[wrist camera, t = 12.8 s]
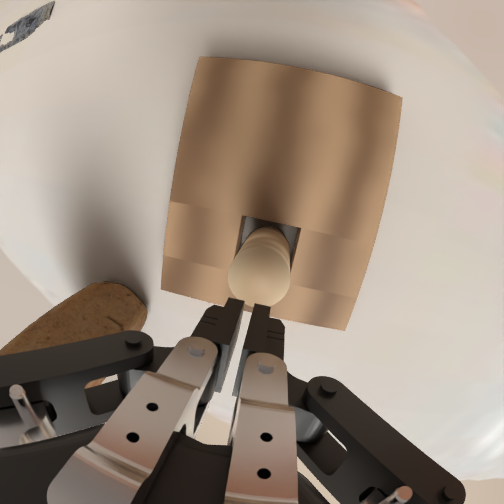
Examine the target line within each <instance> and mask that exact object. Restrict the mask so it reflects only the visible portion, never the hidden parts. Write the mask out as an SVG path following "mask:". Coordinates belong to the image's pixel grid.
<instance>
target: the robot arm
mask: <svg viewBox="0 0 504 504" xmlns="http://www.w3.org/2000/svg"><path fill="white" fill-rule="evenodd" d="M244 304H245V301H243V300H239V299H235V298H231V297H229V298H228V300H227V302H226V304H225V306H224V307H221V306H217V305H213V306H211V307H209V308H208V309H206V311H205V313H204V314H203V316H202V318H201V320H200V321H199V323H198V325H197V326H196V328H195V330H194V331H193V333H192V335H191V336H190V337H186V338H184V339H182V340H180V341H179V342H178V343H177V345H176V346H175V347H157V346H154V344H153V340H152V338H151V337H150V336H149V335H147V334H146V333H144V332H141V331H135V330H128V331H123V332H119V333H114V334H110V335H105V336H101V337H96V338H92V339H87V340H82V341H78V342H73V343H68V344H63V345H58V346H53V347H48V348H42V349H37V350H31V351H26V352H20V353H14V354H8V355H2V356H0V504H330V503H329V502H328V501H327V500H326V499H325V498H324V497H323V496H322V494H321V493H320V492H319V491H318V490H317V489H316V488H315V487H314V486H313V485H312V483H311V482H310V481H309V480H308V479H307V478H306V477H305V476H303V475H302V474H301V473H300V472H298V471H297V456H298V458H299V459H300V460H301V461H302V462H303V463H304V464H305V466H306V467H307V468H308V469H309V470H310V471H311V473H312V474H313V475H314V476H315V477H316V478H317V479H318V480H319V481H320V482H321V484H323V486H324V487H325V488H326V489H327V490H328V491H329V492H330V493H331V494H332V495H333V496H334V497H335V498H336V500H337V501H339V502H340V504H463V503H464V501H465V497H466V493H465V489H464V486H463V484H462V483H461V482H460V481H459V480H458V479H457V478H455V477H454V476H453V475H451V474H450V473H449V472H448V471H446V470H445V469H444V468H442V467H441V466H440V465H439V464H437V463H436V462H435V461H433V460H432V459H431V458H430V457H428V456H427V455H426V454H425V453H423V452H422V451H421V450H420V449H418V448H417V447H416V446H415V445H413V444H412V443H411V442H410V441H409V440H407V439H406V438H405V437H404V436H403V435H401V434H400V433H399V432H398V431H397V430H395V429H394V428H393V427H392V426H391V425H389V424H388V423H387V422H386V421H385V420H383V419H382V418H381V417H380V416H379V415H378V414H376V413H375V412H374V411H373V410H372V409H371V408H369V407H368V406H367V405H366V404H365V403H364V402H362V401H361V400H360V399H359V398H358V397H357V396H356V395H354V394H353V393H352V392H351V391H350V390H349V389H348V388H347V387H345V386H344V385H343V384H342V383H341V382H339V381H338V380H336V379H334V378H331V377H326V376H319V377H315V378H312V379H311V380H310V381H309V382H308V383H307V382H305V381H302V380H300V379H298V378H296V377H294V376H292V375H291V374H290V373H289V372H288V371H287V367H286V364H285V363H284V334H285V326H284V325H283V323H282V322H281V320H279V319H274V318H269V316H270V309H271V307H270V306H266V305H261V304H257V303H255V304H254V308H253V311H252V315H251V319H250V323H249V327H248V330H247V334H246V338H245V342H244V346H243V349H242V354H241V358H240V363H239V367H238V372H237V376H236V380H235V385H234V389H233V393H232V396H236V397H237V399H236V403H235V407H234V411H233V416H232V421H231V427H230V432H229V438H228V443H227V446H226V445H207V444H203V443H201V442H199V441H197V440H195V437H196V435H197V433H198V431H199V428H200V426H201V424H202V421H203V419H204V416H205V414H206V412H207V409H208V407H209V403H210V400H211V398H212V396H213V393H214V391H215V392H219V393H220V392H221V389H222V386H223V383H224V380H225V377H226V373H227V370H228V367H229V364H230V361H231V358H232V354H233V351H234V348H235V345H236V341H237V337H238V333H239V329H240V324H241V319H242V314H243V309H244ZM115 374H117V376H118V380H115V381H112V382H108V383H105V384H101V385H97V386H94V387H90V388H86V389H85V386H86V385H87V384H88V383H89V382H91V381H94V380H97V379H101V378H105V377H108V376H112V375H115ZM105 422H106V423H105ZM102 423H104V424H102ZM99 424H100V425H99ZM95 425H96V426H95ZM92 426H93V427H92ZM89 427H90V428H89ZM85 428H86V429H85ZM82 429H83V430H82ZM78 430H80V431H78ZM328 430H329V431H330V432H331V433H332V434H333V435H334V436H335V437H336V438H337V439H338V440H339V441H340V442H341V443H342V444H343V445H344V446H345V447H346V449H347V451H346V450H345V449H344V448H343V447H342V446H341V445H340V444H339V443H338V442H337V441H336V440H335V439H334V438H333V437H332V436H331V435H330V434H329V433H328V432H327V431H328ZM75 431H76V432H75ZM71 432H72V433H71ZM67 433H69V434H67ZM63 434H65V435H63ZM59 435H61V436H59ZM55 436H57V437H55Z"/></svg>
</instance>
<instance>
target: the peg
mask: <svg viewBox="0 0 504 504" xmlns="http://www.w3.org/2000/svg"><path fill="white" fill-rule="evenodd" d="M228 284H229V287H230V289H231V291H232V293H233V295H234V296H235V297H236V298H237V299H239V300H243V301H245V304H246V305H248V306H251V307H254V304H255V303H257V304H261V305H266V306H272V305H274V304H276V303H277V302H279V301H280V300H281V299H282V298H283V297H284V296H285V295H286V293H287V291H288V289H289V286H290V245H289V242H288V240H287V238H286V237H285V235H284V234H283V233H282V232H281V231H280V230H279V229H277V228H275V227H272V226H265V227H262V228H258V229H256V230H254V231H253V232H251V233H250V234H249V235H248V237H247V238H246V240H245V242H244V244H243V246H242V247H241V249H240V250H239V252H238V254H237V255H236V257H235V258H234V260H233V262H232V263H231V265H230V267H229V271H228Z"/></svg>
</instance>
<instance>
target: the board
mask: <svg viewBox="0 0 504 504" xmlns="http://www.w3.org/2000/svg"><path fill="white" fill-rule="evenodd" d="M401 107H402V97H400V96H397V95H394V94H392V93H389V92H386V91H383V90H381V89H378V88H375V87H372V86H369V85H366V84H362V83H359V82H356V81H352V80H349V79H345V78H342V77H338V76H334V75H330V74H326V73H322V72H318V71H313V70H309V69H304V68H299V67H293V66H288V65H282V64H276V63H269V62H261V61H253V60H244V59H233V58H218V57H199V60H198V64H197V68H196V71H195V75H194V79H193V83H192V87H191V91H190V95H189V100H188V104H187V108H186V113H185V117H184V122H183V127H182V132H181V137H180V142H179V147H178V153H177V158H176V164H175V170H174V176H173V182H172V189H171V196H170V203H169V210H168V218H167V226H166V235H165V245H164V255H163V266H162V278H161V289H162V290H165V291H169V292H173V293H176V294H180V295H184V296H187V297H191V298H195V299H199V300H203V301H207V302H211V303H215V304H219V305H223V306H225V304H226V302H227V300H228V298H229V297H231V298H235V299H237V298H236V297H235V296H234V295H233V293H232V291H231V289H230V287H229V284H228V271H229V267H230V265H231V263H232V262H233V260H234V258H235V257H236V255H237V254H238V252H239V250H240V245H241V239H242V234H243V229H244V224H245V218H246V216H248V217H253V218H258V219H262V220H267V221H272V222H276V223H281V224H285V225H290V226H294V227H299V228H298V232H297V236H296V241H295V245H294V249H293V253H292V257H291V261H290V286H289V289H288V291H287V293H286V295H285V296H284V297H283V298H282V299H281V300H280V301H279V302H277V303H276V304H274V305H272V306H270V307H271V309H270V316H271V317H275V318H280V319H285V320H290V321H295V322H300V323H305V324H310V325H315V326H321V327H326V328H332V329H337V330H343V331H345V329H346V327H347V324H348V322H349V319H350V316H351V314H352V311H353V308H354V305H355V302H356V300H357V297H358V294H359V291H360V288H361V285H362V282H363V279H364V276H365V273H366V269H367V266H368V263H369V260H370V256H371V253H372V250H373V246H374V243H375V239H376V235H377V232H378V228H379V224H380V220H381V216H382V212H383V208H384V204H385V199H386V195H387V191H388V186H389V181H390V176H391V171H392V166H393V161H394V155H395V149H396V143H397V137H398V130H399V123H400V115H401ZM253 308H254V307H251V306H248V305H246V304H244V309H243V310H244V311H248V312H252V311H253Z"/></svg>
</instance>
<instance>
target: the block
mask: <svg viewBox="0 0 504 504" xmlns="http://www.w3.org/2000/svg"><path fill="white" fill-rule="evenodd" d="M146 318H147V309H146V306H145V305H144V304H143V303H142V302H141V301H140V300H139V299H138V297H137V296H136V295H135V294H134V293H133V292H131V291H130V290H129V289H128V288H127V287H125V286H124V285H119V284H117V283H110V282H106V281H104V282H101V283H92V284H90V285H89V286H87V287H86V288H83V289H82V290H80V291H79V292H77V293H75V294H74V295H72V296H71V297H69V298H67V299H66V300H64V301H63V302H61V303H60V304H58V305H57V306H55V307H54V308H52V309H51V310H50V311H48V312H47V313H46V314H44V315H43V316H41V317H40V318H39V319H38V320H36V321H35V322H33V323H32V324H30V325H29V326H28V327H27V328H26V329H24V330H23V331H22V332H21V333H20V334H19V335H17V336H16V337H15V338H14V339H13V340H11V341H10V342H9V343H8V344H7V345H5V346H4V347H3V348H2V349H1V350H0V356H2V355H8V354H14V353H20V352H26V351H31V350H37V349H42V348H48V347H53V346H58V345H63V344H68V343H73V342H78V341H82V340H87V339H92V338H96V337H101V336H105V335H110V334H114V333H119V332H123V331H128V330H135V331H141V329H142V327H143V326H144V324H145V321H146ZM105 378H106V377H105ZM105 378H101V379H97V380H94V381H91V382H89V383H88V384H87V385H86V386H85V389H86V388H90V387H94V386H97V385H100V384H101V383H102V381H103V380H104V379H105Z"/></svg>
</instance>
